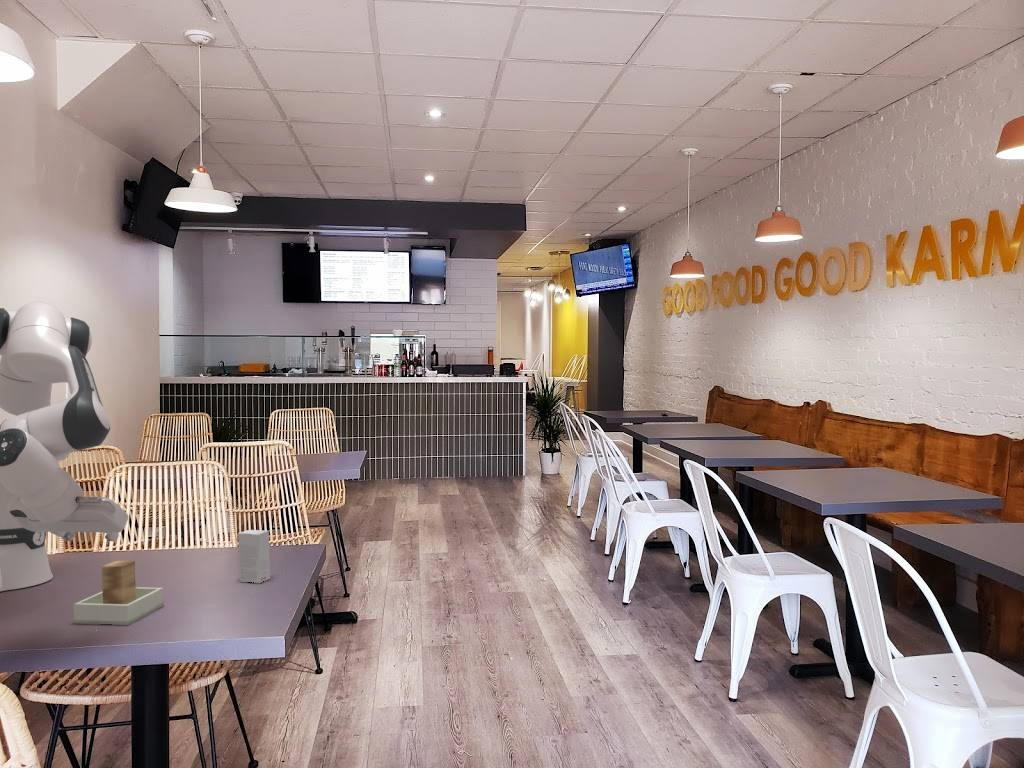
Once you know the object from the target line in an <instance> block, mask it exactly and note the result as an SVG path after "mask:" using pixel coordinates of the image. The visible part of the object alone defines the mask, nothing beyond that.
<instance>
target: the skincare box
mask: <svg viewBox="0 0 1024 768" xmlns="http://www.w3.org/2000/svg"><path fill="white" fill-rule="evenodd" d="M269 532H270V531H269V530H263V529H262V530H260V529H247V530H244V531H240V532H238V533H237V537H238V538H237V539H238V569H239V570H238V571H239V572H238V573H239V574H238V575H239V578H238V579H239V582H240V583H247V582H252V583H251V584H261V582H262V583H264V582H266V581H269V580H270V579H271V562H270V558H271V557H270V536H269V535H270V534H269ZM268 579H269V580H268ZM263 581H264V582H263ZM253 582H254V583H253Z"/></svg>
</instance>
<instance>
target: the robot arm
mask: <svg viewBox="0 0 1024 768" xmlns="http://www.w3.org/2000/svg"><path fill="white" fill-rule="evenodd" d="M92 338H93V337H92V334H91V330H90V326H89V325H88V323H87V322H86V321H84V320H82V319H79V318H75V317H70V318H69V317H66V316H64V314H63V313H62V312H61V311H60V309H59V308H57V307H56V306H54V305H52V304H49V303H46V302H42V301H41V302H38V301H36V302H35V301H34V302H30V303H27V304H25V305H22V306H21V307H20V308H19V309H16V310H15V309H5V308H4V307H2V308H1V307H0V409H1V410H3V411H4V412H7V413H9V414H10V415H13V416H11V417H10V418H8V419H5V420H3V421H2V423H0V592H5V591H10V590H19V589H23V588H29V587H33V586H36V585H41V584H43V583H46V582H48V581H50V580H52V579H53V578H54V575H53V573H52V569H51V567H50V566H51V565H50V562H49V557H48V553H47V548H46V538H47V533H50V534H52V535H55V536H57V537H60V538H61V539H62V540H63V541H64V542H65V541H66V542H69V541H70V542H71V541H73V540H74V538H75V537H76V533H104V534H105V536H104V539H106V540H107V542H117V540H118V539H119V537H120V534H119V533H122V531H123V530H124V528H125V527H126V525H127V523H128V521H129V517H130V516H129V514H128V513H127V512H126V511H125V510H124V509H123V508H122V507H121V506H120V505H119V504H118V503H117V502H115V501H114V500H112V499H111V498H109V497H105V496H84V490H83V488H82V486H80V485H79V483H78V482H77V481H76V480H75V479H74V477H72V475H71V474H70V473H69V472H68V471H67V470H66V469H64V468H62V467H60V465H59V462H60V461H64V460H66V459H67V458H68V457H69V455H70V454H71V453H75V452H77V451H83V450H87V449H91V448H95V447H99V446H101V445H102V444H103V442H104V441H105V440H106V438H107V437H108V435H109V433H110V430H111V424H110V419H109V416H108V413H107V411H106V410H105V408H104V405H103V403H102V401H101V400H102V399H101V397H100V394H99V390H98V387H97V384H96V382H95V378H94V375H93V372H92V370H91V369H92V368H91V366H90V363H89V362H88V360H87V358H86V357H87V355H88V354H89V352H90V350H91V346H92V344H93V343H92V342H93V341H92V340H93V339H92ZM57 383H67V385H68V388H69V392H70V396H68V397H66V398H65V399H63V400H61V401H59V402H56V403H53V404H51V399H52V398H51V397H52V389H53V384H57Z"/></svg>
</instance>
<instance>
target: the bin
mask: <svg viewBox="0 0 1024 768" xmlns="http://www.w3.org/2000/svg"><path fill="white" fill-rule="evenodd" d="M164 598H165V597H164V587H143V586H140V587H139V586H136V600H135V601H133V602H131V603H129V604H103V590H102V591H100V592H97V593H94V594H93V595H91V596H88V597H86V598H84V599H82V600H80V601H78V602H75V603H73V624H76V625H99V624H112V625H111V626H130V625H132V624H134V623H136V622H138V621H140V620H141V619H143V618H145V617H147V616H148V615H150V614H152V613H154V612H156V611H157V610H159V609H161V608H163V607H165V605H164V604H165V603H164V602H165V601H164Z"/></svg>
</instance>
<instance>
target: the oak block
mask: <svg viewBox="0 0 1024 768" xmlns="http://www.w3.org/2000/svg"><path fill="white" fill-rule="evenodd" d="M101 579H102V585H101V586H102V591H103V604H129V603H131V602H133V601H135V600H136V587H137V586H136V585H137V583H136V560H115V561H112V562H109V563H107V564H105V565H102V566H101Z"/></svg>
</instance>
